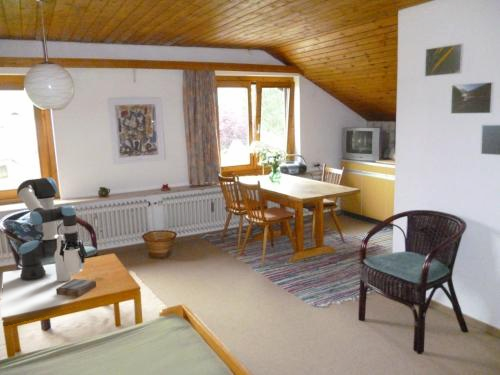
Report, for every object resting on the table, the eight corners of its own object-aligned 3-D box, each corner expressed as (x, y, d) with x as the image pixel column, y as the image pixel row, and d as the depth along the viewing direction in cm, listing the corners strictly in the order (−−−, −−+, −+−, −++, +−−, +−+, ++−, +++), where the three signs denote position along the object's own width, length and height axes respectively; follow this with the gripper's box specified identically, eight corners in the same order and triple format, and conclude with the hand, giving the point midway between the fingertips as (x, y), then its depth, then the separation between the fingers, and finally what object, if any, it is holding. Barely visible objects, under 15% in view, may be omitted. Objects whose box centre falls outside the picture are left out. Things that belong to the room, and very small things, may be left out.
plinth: (56, 294, 258) (56, 288, 257) (74, 284, 273) (74, 278, 272) (79, 297, 253) (78, 290, 253) (96, 286, 268) (95, 280, 268)
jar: (87, 269, 264) (85, 246, 261) (76, 275, 254) (73, 251, 252) (73, 268, 267) (71, 244, 265) (61, 274, 258) (59, 250, 255)
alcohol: (54, 280, 279) (49, 236, 274) (65, 276, 287) (60, 232, 282) (63, 283, 275) (58, 237, 270) (74, 278, 283) (70, 234, 278)
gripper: (50, 232, 256) (54, 267, 260) (82, 234, 250) (86, 270, 254) (59, 229, 264) (63, 263, 267) (91, 231, 257) (94, 266, 261)
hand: (74, 267), depth 260 cm, fingers closed on jar, 10 cm apart
